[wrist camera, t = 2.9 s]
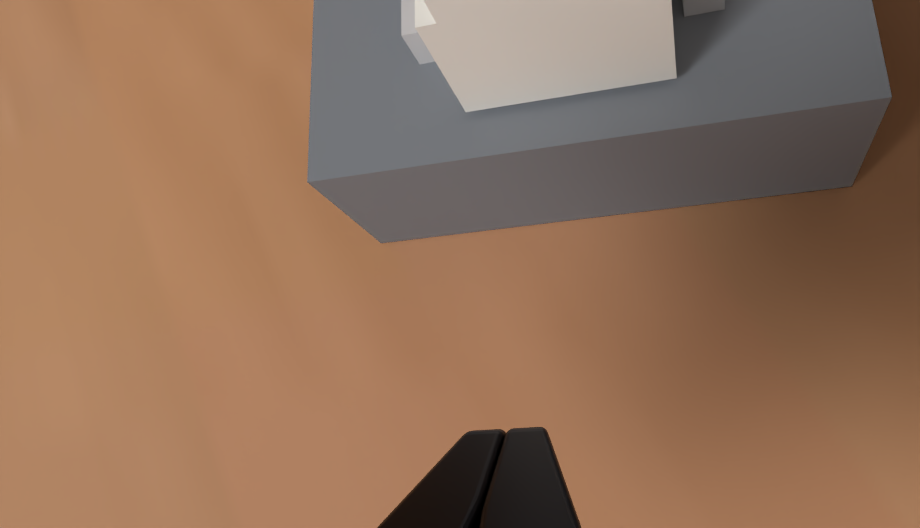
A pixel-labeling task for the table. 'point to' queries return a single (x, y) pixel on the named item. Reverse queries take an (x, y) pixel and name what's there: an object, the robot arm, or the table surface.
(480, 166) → the launcher deck
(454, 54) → the beige upright block
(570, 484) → the table surface
